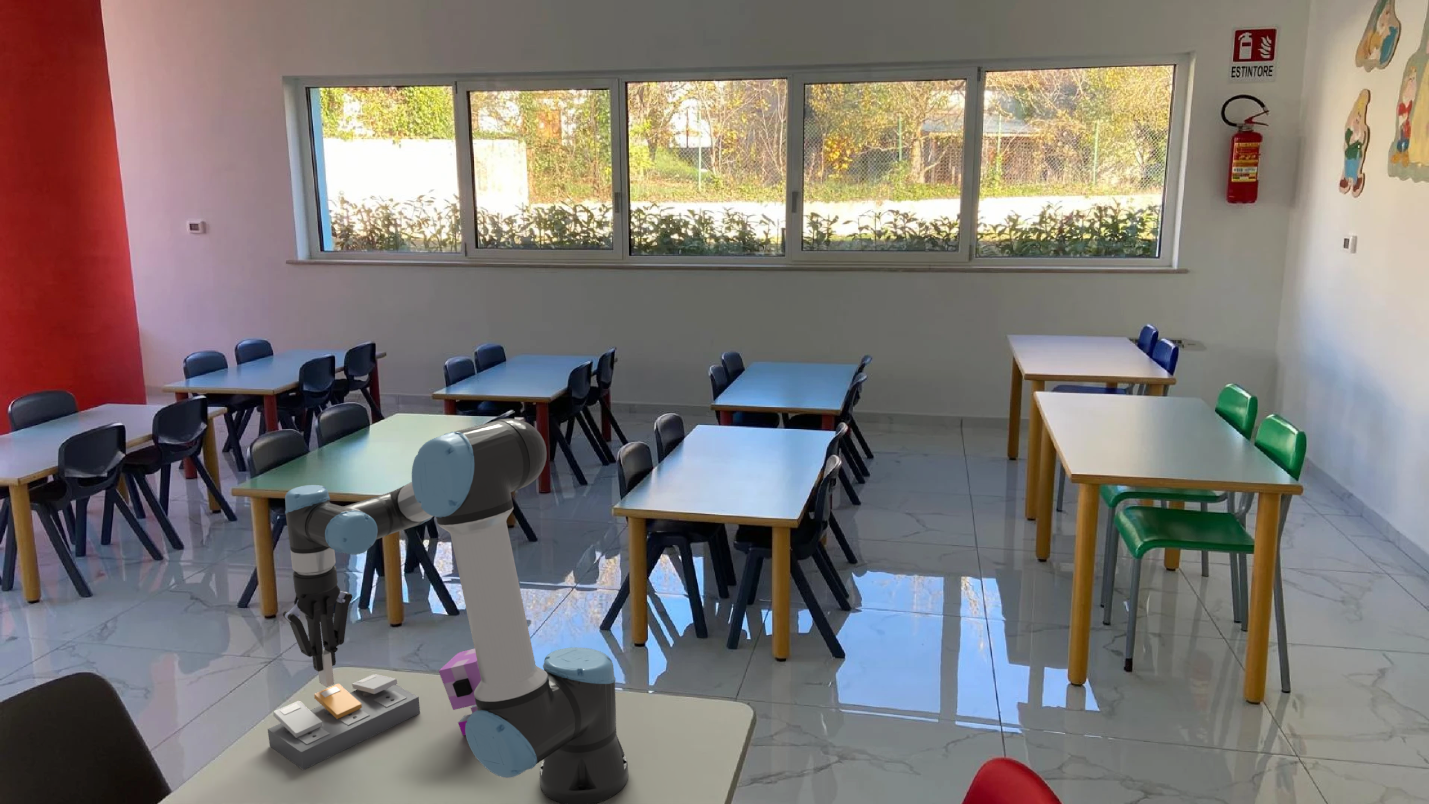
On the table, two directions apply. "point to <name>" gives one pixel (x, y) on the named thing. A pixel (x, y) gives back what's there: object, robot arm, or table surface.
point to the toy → (461, 682)
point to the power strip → (345, 726)
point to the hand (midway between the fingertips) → (326, 683)
